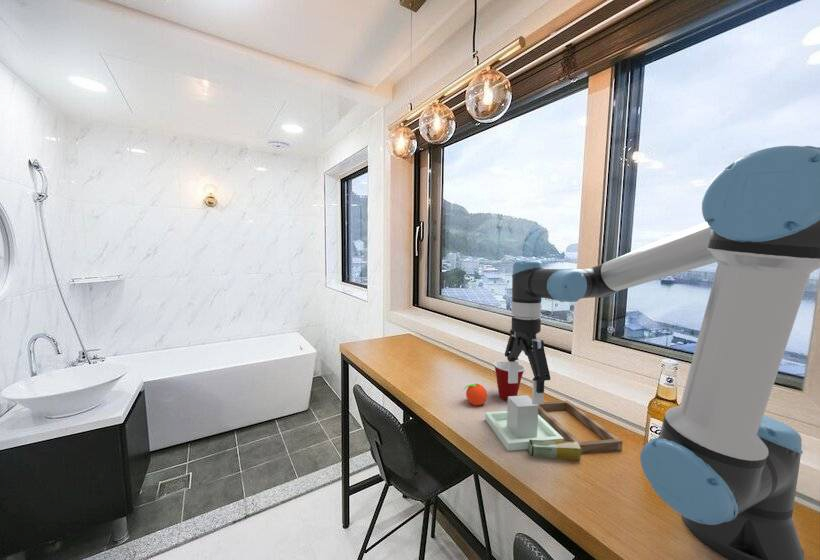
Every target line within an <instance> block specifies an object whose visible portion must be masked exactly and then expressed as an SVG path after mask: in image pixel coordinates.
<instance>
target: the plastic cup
mask: <svg viewBox="0 0 820 560" xmlns="http://www.w3.org/2000/svg"><path fill="white" fill-rule="evenodd" d="M508 365H509V361H508V360H507V361H505V360H497V361H493V367H494V371H495V376H496V383H497V385H496V386H497V389H498V397H499V398H500V399H501V400H503V401H506V402H508V396H518V393H519V389H520V386H521V380H522V378H523V374H524V372H525V371H526V367H525V366H524V365H523V364H520V363H518V383H511V384H509V383H508Z"/></svg>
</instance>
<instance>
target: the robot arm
mask: <svg viewBox="0 0 820 560" xmlns="http://www.w3.org/2000/svg"><path fill="white" fill-rule="evenodd" d="M701 212H702V217H703V220H704V221H705V222H703V223H700V224H697V225H695V226H692V227H690V228H688V229H685V230H682V231H680V232H677V233H675V234H673V235H670V236H668V237H664V238H663V239H660V240H657V241H655V242H653V243H652V242H651V243H649V244H647V245H645V246H643V247H640V248H637V249H635V250H632V251H630V252H627V253H625V254H623V255H621V256H617V257H615V258H613V259H610V260H607V261H605V262H603V263H600V264H598V265H594V266H593V267H589V268H588V267H587V268H586V267H585V268H544V267H543V262H542V261H540V260H516V261H514V262H513V265H512V275H511V278H512V279H511V280H512V281H511V283H512V284H511V285H512V286H511V288H512V289H511V292H512V293H511V316H512V317H511V329H510V330H509V338H508V340H507V345H506V347H505V352H504V357H506V358H507V361H508V362H509V365H508V383H509V384H511V383H518V364H519V357H520V355H521V353H522V352H523V353H524V354H525V355H524V356H526V357H527V359H528V361H529V362H528V363H529V365H530V368H531V372H532V375H533V378H532V389H531V390H532V391H531V392H532V393H531V394H532V396H531V399H532V404H533V405H537V404H543V402H545V400H544V399H545V398H544V395H545V394H544V393H545V381H551V379H552V378H551V375H550V369H549V366H548V361H547V357H546V352H545V344H544V343H545V342H544V340H543V339H537V334H539V333H540V332H541V330H542V329H541V328H542V327H541V326H542V325H541V324H542V320H541V316H542V299H546V300H547V299H548V300H553V301H558V302H560V303H564V302H566V303H576V302H578V301H579V300H581V299H589V298H590V299H592V298H600V299H601V298H607V297H610V296H613V295H615V294H617V293H618V292H619V291H621V290H625V289H629V288H632V287H636V286H639V285H644V284H646V283H649V282H654V281H657V280H660V279H663V278H667V277H671V276H673V275H677V274H681V273H684V272H687V271H691V270H694V269H697V268H700V267H704V266H708V265H712V264H716V263H717V267H716V270H715V275H714V277H713V280H712V284H711V290H710V292H709V296H708V300H707V305H706V307H705V311H704V315H703V319H702V321H701V322H702V323H701V325H700V329H699V334H698V337H697V340H696V341H697V342H696V345H695V349H694V352H693V357H692V360H691V363H690V368H689V371H688V374H687V379H686V382H685V386H684V391H683V392H682V397H681V401H680V404H679V405H677V406H672V407H670V408H668V409H666V411H665V414H664V417H663V421H662V424H661V427H660V431H659V432H660V433H659V435H658V436H657V438H656V437H655V438H652V439H649V440H648V442H647V443H645V444H644V445H643V447H642V448H641V450H640V456H639V457H640V465H641V469H642V471H643V474H644V477H645V478H646V479H647V481H649V482H650V486H651V488H652V489H653V491H654V492H655V493H656V494H657V496H659V498H660V499H661V500H662V501H663V502H664V503H665V504H666V505H668V506H669V507H670V508H671V509H672V510H674V511H675V512H677V513H678V514H679V515H680V516H681V518H682V521H683V522H684V524H685V526H686V527H687V529H688V530H689V531H690V532H691V533H692V534H693V535H694V537H696V538H697V539H698V540H699V541H700V542H702V543H703V544H704V545H706V547H708V548H709V549H711V550H712V551H714V552H715V553H717V554H718V555H720V556H721V557H723V558H724V559H727V560H805V553H804V550H803V548H802V544H801V542H800V538H799V535H798V532H797V528H796V526H795V522H794V520H793V515H794V513H793V512H794V506H795V500H796V492H797V487H798V477H799V470H800V464H801V458H802V457H801V456H802V455H803V453H804V451H803V450H802V437H801V435H800V433H798V431H796V430H795V429H794V428H793V427H791V426H789V425H788V424H786V423H784V422H783V421H779V420H777V419H774V418H772V417H769V416H766V415H765V412H766V409H767V406H768V402H769V399H770V396H771V393H772V391H773V387H774V384H775V381H776V379H777V377H778V376H777V375H778V372H779V370H780V367H781V364H782V361H783V358H784V355H785V351H786V349H787V345H788V343H789V339H790V337H791V334H792V330H793V327H794V324H795V321H796V318H797V315H798V312H799V309H800V306H801V304H802V300H803V298H804V294H805V291H806V288H807V285H808V282H809V280H810V279H809V278H810V276H811V274H812V273H813V272H815V271H817V270H819V269H820V146H819V147H818V146H811V145H804V146H803V145H780V146H778V145H777V146H773V147H768V148H767V147H766V148H764V149H760V150H757V151H754V152H751V153H749V154H746V155H744V156H742V157H740V158H738V159H737V160H735V161H734V162H732V163H730V164H729V165H728V166H727V167H725V168H724V169H722V170H721V171H720V172H719V173H718V174H716V176H715V177H714V178H713V179H712V180H711V182H710V183H709V184H708V186H707V188H706V190H705V192H704V194H703V197H702V200H701Z"/></svg>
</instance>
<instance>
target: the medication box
mask: <svg viewBox="0 0 820 560" xmlns="http://www.w3.org/2000/svg"><path fill="white" fill-rule="evenodd" d="M528 453H529V455H530V456H531V457H539V458H549V459H550V458H551V459H561V460H574V461H581V454H582V453H581V447H580V445H579V444H578V442H570V441H565V440H564V441H548V440H529V450H528Z"/></svg>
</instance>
